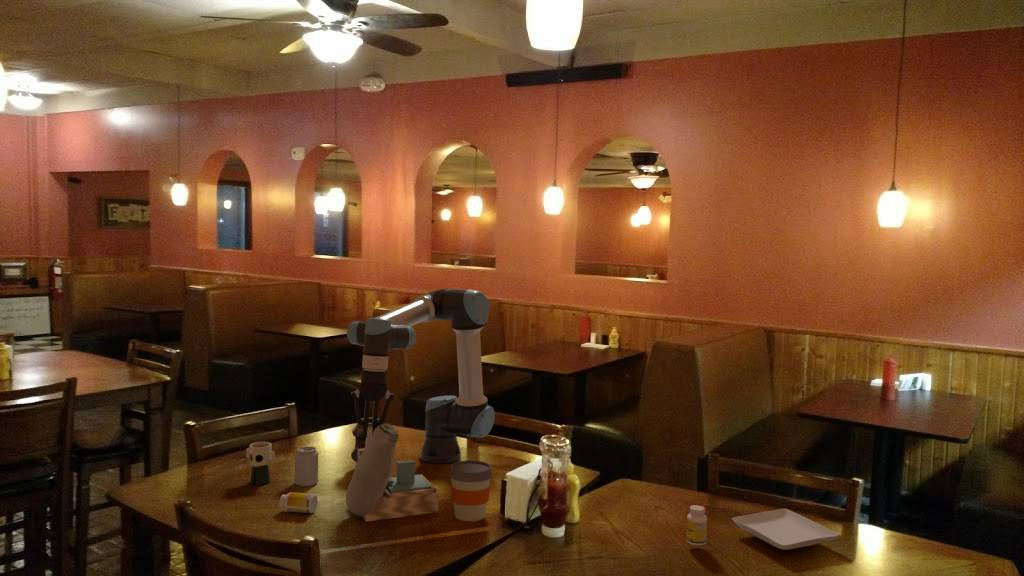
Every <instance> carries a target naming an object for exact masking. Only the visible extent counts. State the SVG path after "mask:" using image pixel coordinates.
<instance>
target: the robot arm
mask: <svg viewBox="0 0 1024 576" xmlns="http://www.w3.org/2000/svg"><path fill="white" fill-rule="evenodd" d="M490 312H491V306H490V302H489V299H488V297H487V296H486V295H485V294H484V293H483V292H482V291H480V290H475V289H465V288H464V289H463V288H460V289H458V288H446V287H445V288H440V289H436V290H432V291H430V292H426V293H423V294H422V295H419V296H417V297H416V298H414V300H413V301H412V302H409V303H408V304H407V303H406V304H405V305H403V306H400V307H397V308H395V309H393V310H391V311H388V312H386V313H384V314H381V315H379V316H376V317H369V318H367V319H366V321H362V320H357V321H355V320H354V321H352V322H351V323H350V324H349V325H348V326H347V329H346V337H347V340H348V342H350V344H352V345H358V346H360V347H361V346H362V347H363V352H362V353H363V354H362V362H361V363H362V365H361V367H362V368H363V369H362V370H361V376H360V377H361V378H360V384H359V386H358V389H355V391H354V390H353V391H351V392H350V395H351V398H352V399H353V403H354V408H355V415H356V423H357V422H358V424H359V425H361V426H363V438H366V445H365V448H366V447H367V445H368V444H369V442H370V440H371V438H372V435H373V432H374V430H375V428H376V427H377V426H379V425H381V424H384V422H385V418H386V415H387V413H388V410H389V406H390V404H391V402H392V401H393V399H394V398H395V394H394V393H391V392H390V391H389V390H388V389H389V388H388V387H387V381H388V372H387V371H386V370H388V365H389V353H390V350H401V351H404V350H408V349H411V348H413V346H414V345H415V343H416V340H417V334H416V331H415V329H414V328H413V326H416V325H417V324H419V323H421V322H422V323H428V322H431V321H444V322H445V321H446V322H450V323H451V327H450V328H451V329H452V330H453V331H454V332H455V336H456V353H457V354H456V357H457V359H456V360H457V374H458V375H457V376H458V390H459V395H458V397H457V396H456V395H440V396H439V395H438V396H435V397H434V396H433V397H431V398H428V400H427V401H426V405H425V410H424V411H425V436H424V437H425V438H424V440H423V442H422V443H423V444H422V446H421V449H420V455H419V456H420V458H421V459H420V460H421V461H423V462H425V463H430V464H437V465H438V464H439V465H440V464H443V465H444V464H450V463H451V464H453V463H456V462H459V461H461V459H462V457H461V455H462V452H461V448H460V445H459V442H458V438H457V434H458V435H462V436H467V437H471V438H484V437H486V436H487V435H488V434H489V433H490V432H491V430H492V429H493V426H494V423H495V417H496V416H495V415H496V413H495V409H494V407H492V406H490V405H489V404H488V397H486V396H485V395H484V387H483V385H484V384H483V365H482V347H481V345H482V343H481V331H482V330H483V328H485V323H487V322H488V320H489V317H490V316H489V315H490ZM360 395H361V396H362V398H363V399H364V413H363V418H364V421H362V419H361V418H362V416H361V415H362V413H361V408H360V401H359V398H360ZM384 397H385V401H384V403H383V406H382V408H381V409H382V410H381V413H380V415H379V404H380V401H381V399H383V398H384ZM371 402H373V409H372V418H373V419H372V426H368V419H369V418H370V417H369V416H370V407H371V406H370V405H371ZM378 416H379V418H378ZM377 418H378V419H379V421H377Z"/></svg>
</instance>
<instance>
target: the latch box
mask: <svg viewBox="0 0 1024 576" xmlns="http://www.w3.org/2000/svg"><path fill="white" fill-rule="evenodd" d="M418 475H420V476H421V477H422V478H423V479H424V480H425V482H426V483H427V484H428V485H429V486H430V489H423V490H414V491H406V492H397V493H389V491H388V490H387V489H386V488H385V491H384V493H383V496H382V498H381V499H379V500H378V502H377V503H376V505H375V507H374V509H373V510H372V512H371V513H369V514H366V515H365V516H361V517H362V518H363V520H364V521H365V522H373V521H374V522H375V521H381V520H389V519H396V518H403V517H405V518H406V517H411V516H418V515H425V514H433V513H435V514H436V513H439V494H440V493H439V491H437V488H436V487H435V486H434V485H433V484H432V483H431V482H430V481H429V480H428V479H427V478H426V477H425V476H424V475H423V473H422V474H418Z"/></svg>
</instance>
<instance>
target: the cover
mask: <svg viewBox="0 0 1024 576" xmlns="http://www.w3.org/2000/svg"><path fill="white" fill-rule="evenodd" d="M415 469H416V462H415V461H414V460H413V459H407V460H397V461H396V476H395V477H390V478H391V479H392V480H393V484H387V485H386V489H387V490H388V491H389V493H397V492H406V491H414V490H423V489H430V486H429V485H428V484H427V483H426V482H425V480H424V479H423V478H422V477H421V476H420V475H419V474H416V473H415V472H416V470H415Z"/></svg>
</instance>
